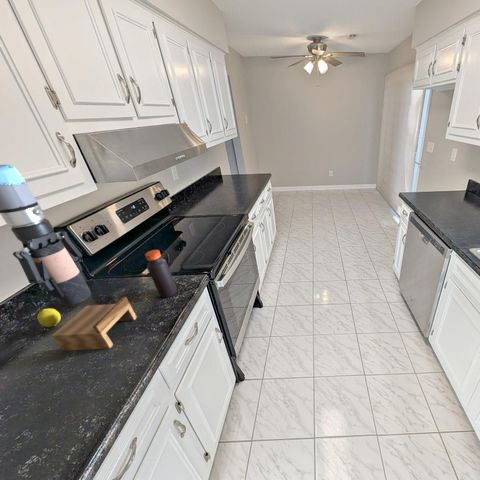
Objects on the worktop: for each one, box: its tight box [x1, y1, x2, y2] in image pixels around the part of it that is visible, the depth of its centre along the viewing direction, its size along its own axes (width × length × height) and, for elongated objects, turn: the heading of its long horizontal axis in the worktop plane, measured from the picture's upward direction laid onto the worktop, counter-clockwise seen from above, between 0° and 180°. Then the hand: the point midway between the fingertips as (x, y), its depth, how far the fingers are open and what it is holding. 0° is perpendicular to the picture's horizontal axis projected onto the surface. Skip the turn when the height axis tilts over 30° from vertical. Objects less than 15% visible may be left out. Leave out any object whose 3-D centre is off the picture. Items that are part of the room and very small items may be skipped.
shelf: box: [51, 296, 137, 352], centre depth 88 cm, size 16×14×10 cm
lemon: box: [37, 308, 62, 328], centre depth 93 cm, size 6×6×8 cm
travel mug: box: [29, 239, 92, 306], centre depth 78 cm, size 8×8×20 cm
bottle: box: [144, 249, 178, 299], centre depth 104 cm, size 7×7×20 cm
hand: (71, 288), depth 81 cm, fingers closed on travel mug, 8 cm apart
